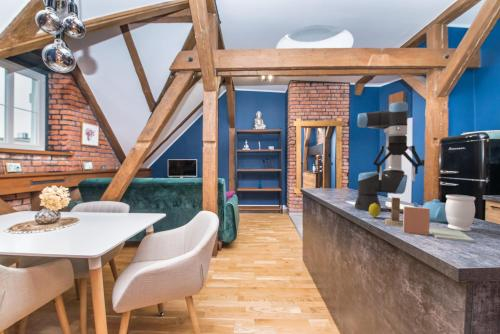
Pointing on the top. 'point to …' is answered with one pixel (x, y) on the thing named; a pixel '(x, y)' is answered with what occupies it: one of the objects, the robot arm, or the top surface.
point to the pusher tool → (395, 214)
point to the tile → (416, 220)
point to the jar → (460, 212)
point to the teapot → (435, 211)
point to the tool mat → (450, 234)
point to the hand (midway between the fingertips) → (396, 180)
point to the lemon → (374, 210)
